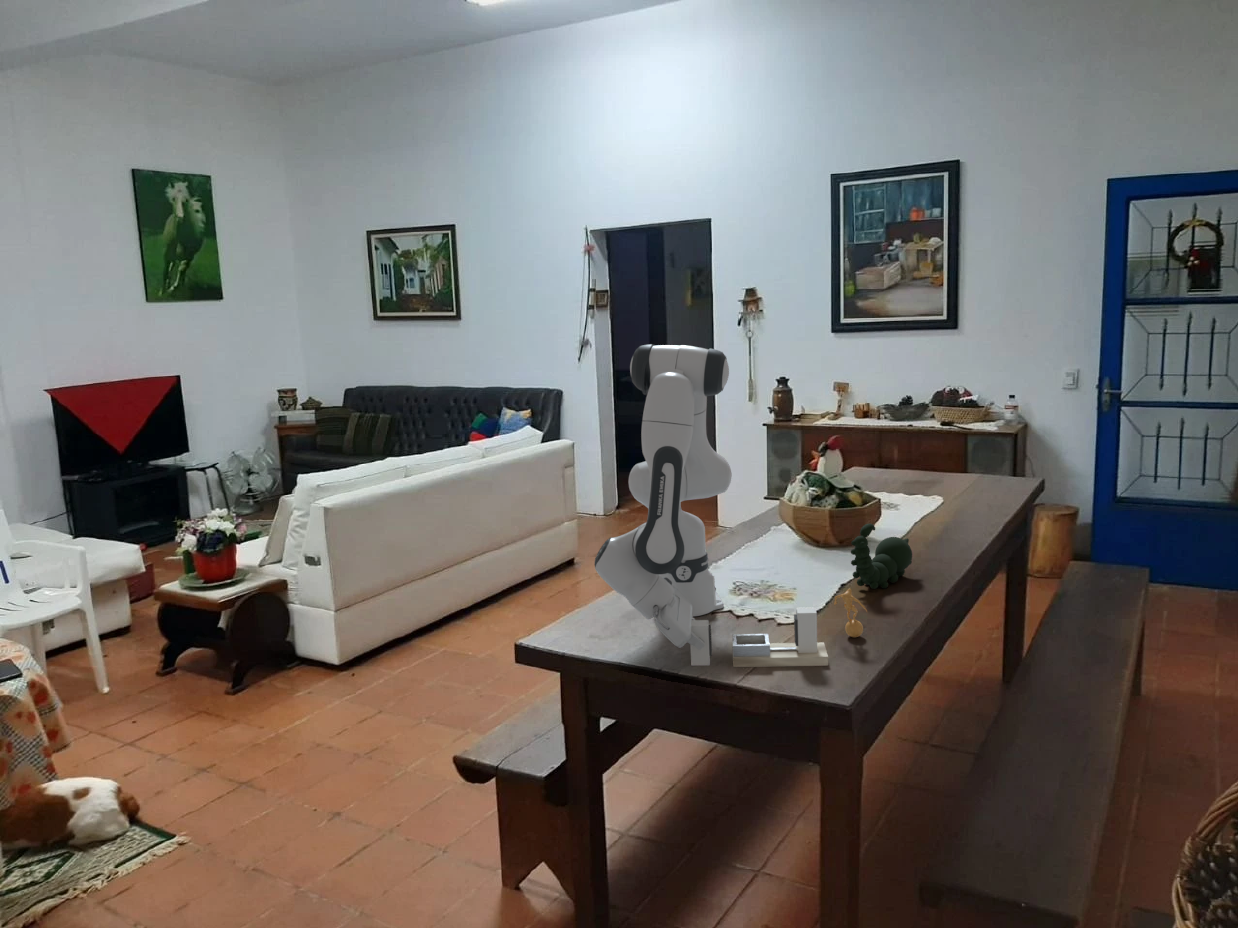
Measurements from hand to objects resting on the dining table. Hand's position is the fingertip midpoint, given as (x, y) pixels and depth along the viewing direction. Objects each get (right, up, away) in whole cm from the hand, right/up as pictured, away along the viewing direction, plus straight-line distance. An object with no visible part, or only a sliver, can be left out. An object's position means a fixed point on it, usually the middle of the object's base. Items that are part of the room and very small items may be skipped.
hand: (702, 640), depth 209 cm
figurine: (+35, -1, +9) cm, 36 cm away
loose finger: (0, -5, +1) cm, 5 cm away
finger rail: (+17, -4, 0) cm, 17 cm away
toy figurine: (+52, +7, +45) cm, 69 cm away
